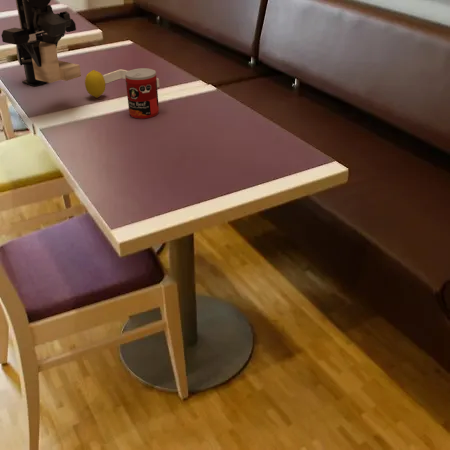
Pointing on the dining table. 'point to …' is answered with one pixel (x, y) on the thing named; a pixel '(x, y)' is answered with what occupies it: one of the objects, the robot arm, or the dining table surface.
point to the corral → (118, 76)
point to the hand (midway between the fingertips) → (45, 64)
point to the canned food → (142, 93)
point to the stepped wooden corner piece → (54, 66)
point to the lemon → (95, 83)
